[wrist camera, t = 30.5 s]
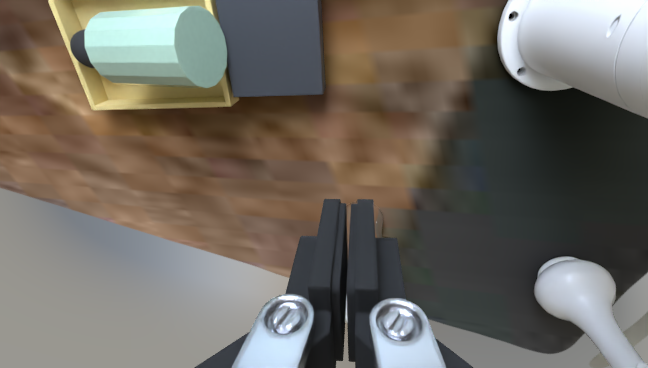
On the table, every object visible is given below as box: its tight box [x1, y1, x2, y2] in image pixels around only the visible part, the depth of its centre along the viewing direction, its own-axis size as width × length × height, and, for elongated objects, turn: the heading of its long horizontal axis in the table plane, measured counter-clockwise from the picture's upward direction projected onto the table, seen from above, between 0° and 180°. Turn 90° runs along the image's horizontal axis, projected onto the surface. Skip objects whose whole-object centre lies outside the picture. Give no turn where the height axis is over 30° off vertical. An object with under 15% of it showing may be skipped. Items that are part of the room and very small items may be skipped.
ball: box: [70, 29, 95, 68], centre depth 36 cm, size 4×4×4 cm
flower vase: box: [534, 256, 648, 368], centre depth 36 cm, size 13×18×25 cm
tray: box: [48, 0, 239, 110], centre depth 36 cm, size 17×13×3 cm
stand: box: [215, 0, 326, 97], centre depth 35 cm, size 10×11×3 cm
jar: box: [84, 6, 227, 88], centre depth 33 cm, size 7×7×11 cm
